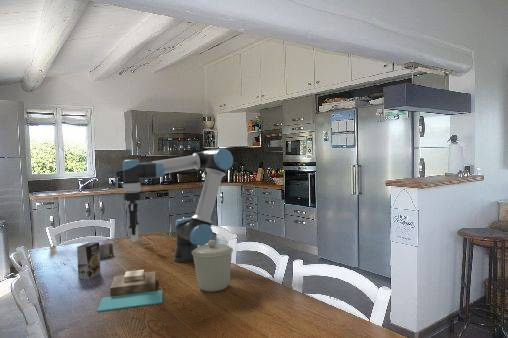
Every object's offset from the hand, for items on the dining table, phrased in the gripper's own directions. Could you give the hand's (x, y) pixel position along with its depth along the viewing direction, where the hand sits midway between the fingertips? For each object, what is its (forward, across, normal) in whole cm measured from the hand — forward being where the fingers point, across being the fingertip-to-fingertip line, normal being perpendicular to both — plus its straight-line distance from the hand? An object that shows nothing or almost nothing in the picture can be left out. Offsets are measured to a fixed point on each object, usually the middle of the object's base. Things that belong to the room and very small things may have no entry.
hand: (134, 239), depth 170 cm
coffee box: (+19, -12, -23) cm, 32 cm away
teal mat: (+19, +28, 0) cm, 34 cm away
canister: (+19, +25, +34) cm, 46 cm away
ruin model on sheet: (+20, -47, -22) cm, 55 cm away
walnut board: (+19, +13, 0) cm, 23 cm away
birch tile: (+15, +11, 0) cm, 18 cm away
